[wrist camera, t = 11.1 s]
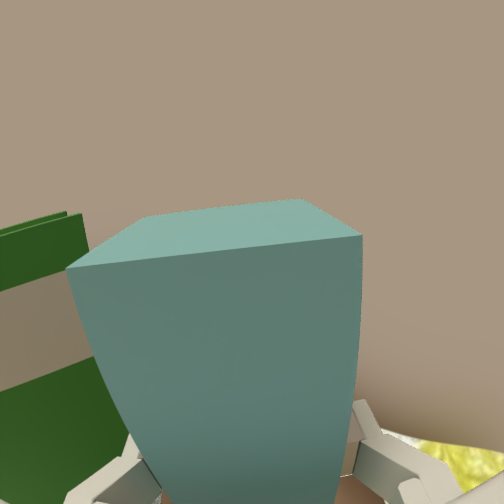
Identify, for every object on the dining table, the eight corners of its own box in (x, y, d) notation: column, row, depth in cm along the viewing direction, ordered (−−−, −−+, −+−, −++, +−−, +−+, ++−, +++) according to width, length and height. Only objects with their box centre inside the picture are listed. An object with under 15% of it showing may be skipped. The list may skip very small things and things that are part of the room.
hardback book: (137, 430, 28) (64, 210, 21) (171, 471, 23) (81, 213, 16) (11, 481, 17) (-106, 269, 10) (26, 532, 12) (-140, 292, 5)
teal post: (225, 567, 8) (65, 268, 4) (226, 502, 11) (144, 217, 8) (318, 558, 8) (362, 235, 4) (306, 495, 12) (302, 198, 8)
